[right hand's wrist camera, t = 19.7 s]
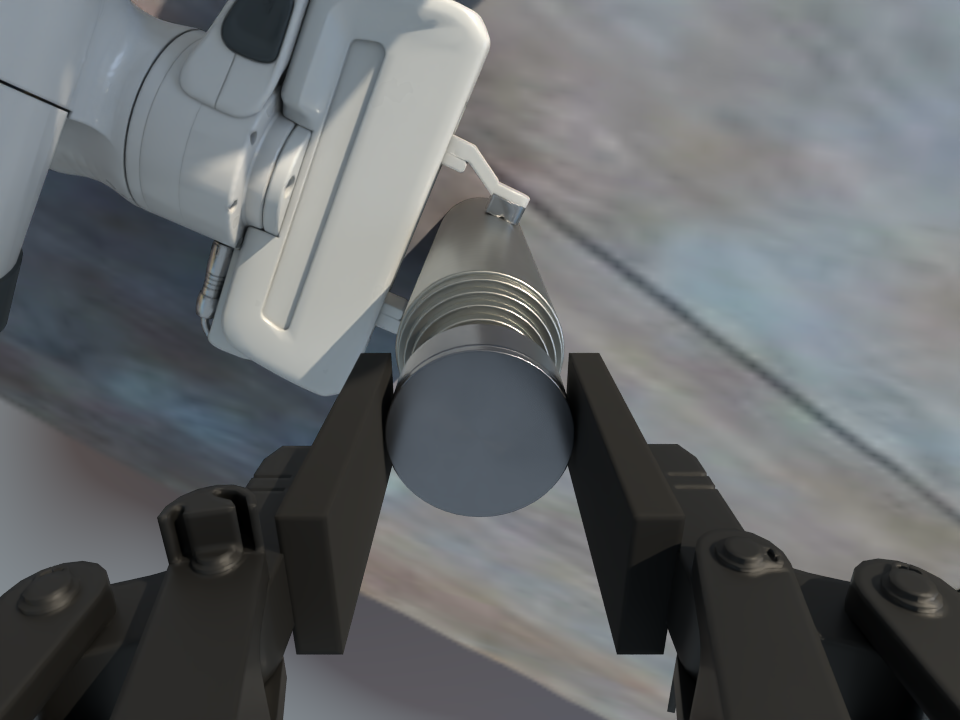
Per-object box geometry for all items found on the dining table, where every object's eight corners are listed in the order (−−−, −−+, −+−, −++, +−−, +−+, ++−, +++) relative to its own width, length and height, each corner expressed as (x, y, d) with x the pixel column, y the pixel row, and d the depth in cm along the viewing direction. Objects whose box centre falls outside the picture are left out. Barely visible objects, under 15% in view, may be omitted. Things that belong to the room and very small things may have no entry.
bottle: (460, 181, 35) (424, 278, 12) (537, 222, 35) (634, 379, 13) (423, 260, 36) (334, 468, 14) (498, 296, 37) (525, 546, 15)
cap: (579, 454, 15) (591, 495, 14) (424, 489, 16) (417, 533, 14) (543, 303, 14) (552, 328, 12) (372, 347, 14) (357, 377, 12)
